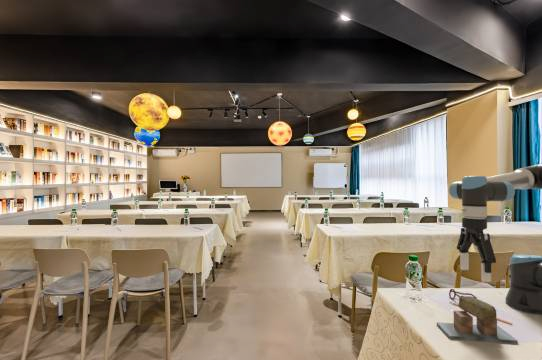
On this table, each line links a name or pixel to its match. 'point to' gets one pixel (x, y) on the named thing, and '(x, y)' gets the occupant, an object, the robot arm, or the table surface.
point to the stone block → (477, 308)
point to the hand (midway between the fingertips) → (474, 275)
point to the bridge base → (475, 329)
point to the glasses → (458, 293)
